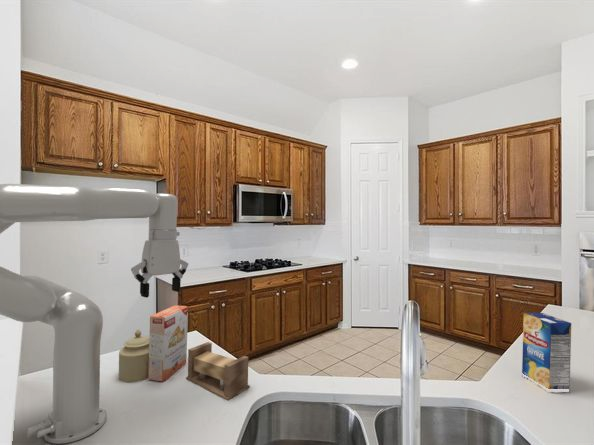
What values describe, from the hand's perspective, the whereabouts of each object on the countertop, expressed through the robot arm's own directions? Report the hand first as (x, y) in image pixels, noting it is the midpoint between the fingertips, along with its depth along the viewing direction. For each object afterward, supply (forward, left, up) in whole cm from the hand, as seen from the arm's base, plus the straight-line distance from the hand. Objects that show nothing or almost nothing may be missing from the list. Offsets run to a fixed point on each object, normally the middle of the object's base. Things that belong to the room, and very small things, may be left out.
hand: (161, 293), depth 92 cm
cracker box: (+10, +11, -30) cm, 34 cm away
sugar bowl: (+4, +19, -30) cm, 36 cm away
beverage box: (+81, -93, -30) cm, 127 cm away
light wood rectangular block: (+15, -8, -27) cm, 31 cm away
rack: (+15, -8, -30) cm, 35 cm away
